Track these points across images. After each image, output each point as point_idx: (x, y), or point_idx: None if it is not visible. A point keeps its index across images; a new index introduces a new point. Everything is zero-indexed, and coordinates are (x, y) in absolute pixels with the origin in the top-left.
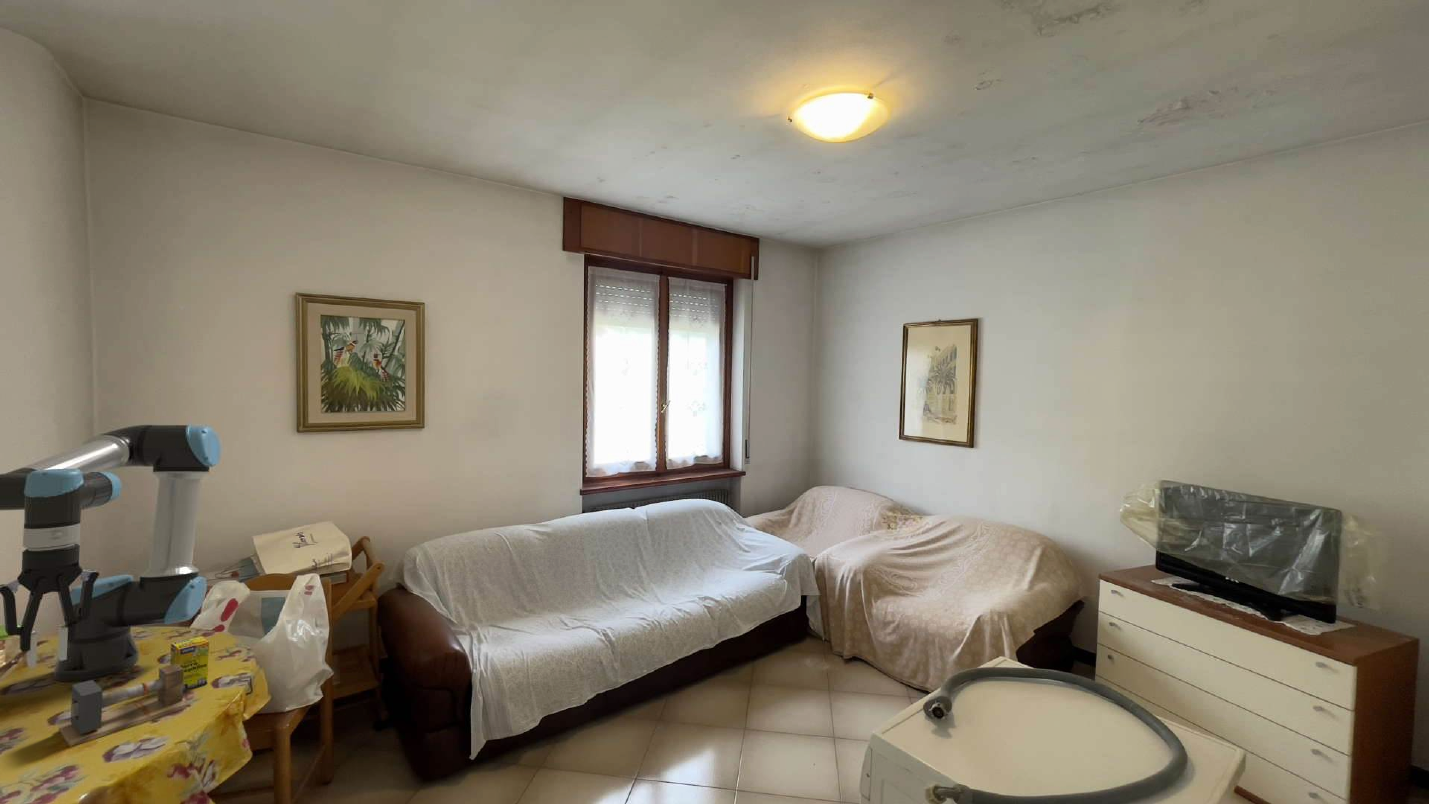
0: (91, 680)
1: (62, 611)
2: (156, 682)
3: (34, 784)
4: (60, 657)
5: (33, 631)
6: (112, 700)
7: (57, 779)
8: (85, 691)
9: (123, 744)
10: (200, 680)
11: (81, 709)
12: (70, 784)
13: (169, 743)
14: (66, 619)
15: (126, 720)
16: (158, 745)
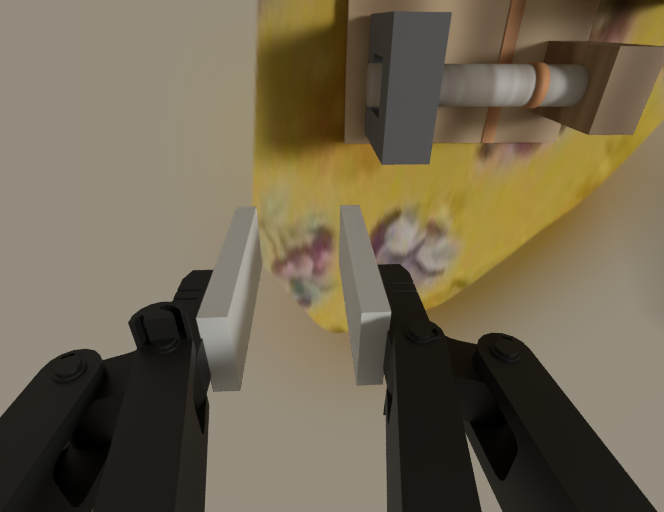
0: (447, 17)
1: (396, 428)
2: (562, 100)
3: (277, 252)
4: (340, 259)
5: (222, 327)
6: (449, 106)
7: (304, 263)
8: (399, 129)
9: (405, 216)
10: None
11: (375, 152)
12: (314, 293)
13: (447, 275)
14: (386, 438)
15: (449, 122)
16: (435, 269)
